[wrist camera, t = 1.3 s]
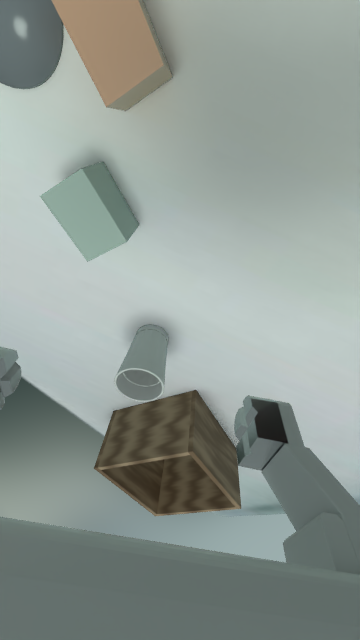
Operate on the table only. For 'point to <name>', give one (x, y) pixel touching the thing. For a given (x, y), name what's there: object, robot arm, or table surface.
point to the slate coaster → (29, 42)
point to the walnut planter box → (171, 457)
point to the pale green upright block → (92, 211)
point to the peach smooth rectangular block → (116, 48)
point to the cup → (144, 366)
